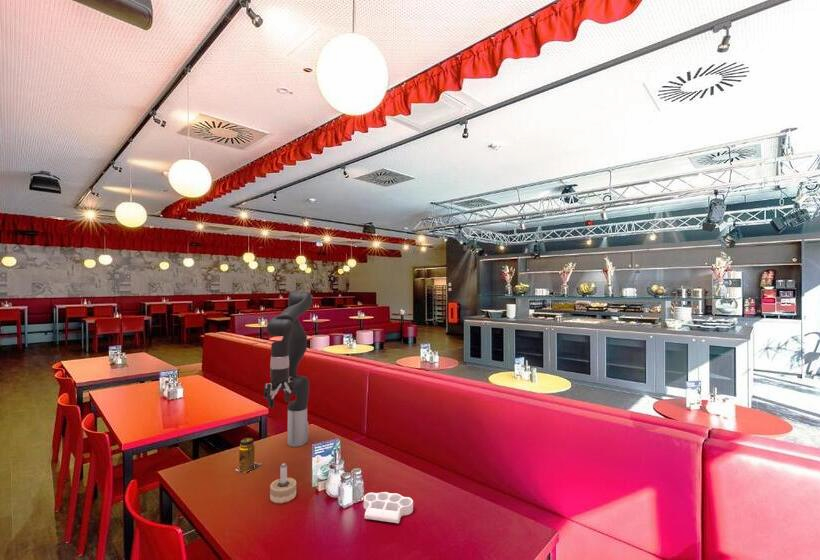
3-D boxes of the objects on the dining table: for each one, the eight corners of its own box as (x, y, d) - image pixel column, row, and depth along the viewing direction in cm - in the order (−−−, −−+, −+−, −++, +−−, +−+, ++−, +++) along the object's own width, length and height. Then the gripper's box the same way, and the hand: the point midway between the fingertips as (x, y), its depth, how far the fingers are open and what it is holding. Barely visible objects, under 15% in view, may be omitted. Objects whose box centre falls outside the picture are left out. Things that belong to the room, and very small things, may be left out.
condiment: (234, 470, 159) (234, 442, 159) (249, 461, 167) (249, 434, 167) (247, 473, 156) (248, 444, 156) (262, 464, 164) (262, 436, 164)
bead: (284, 487, 146) (284, 475, 146) (300, 493, 142) (301, 481, 142) (265, 498, 138) (265, 486, 138) (282, 505, 134) (282, 493, 134)
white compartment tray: (355, 520, 127) (369, 496, 141) (407, 528, 123) (416, 502, 137) (355, 510, 127) (369, 487, 141) (407, 517, 123) (416, 493, 137)
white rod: (283, 493, 142) (283, 461, 142) (288, 495, 140) (288, 462, 140) (278, 496, 139) (278, 463, 140) (283, 498, 138) (283, 465, 138)
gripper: (286, 362, 166) (286, 398, 166) (259, 368, 154) (259, 408, 154) (298, 364, 163) (298, 401, 163) (272, 370, 150) (271, 411, 150)
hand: (279, 404), depth 158 cm, fingers open, 8 cm apart
